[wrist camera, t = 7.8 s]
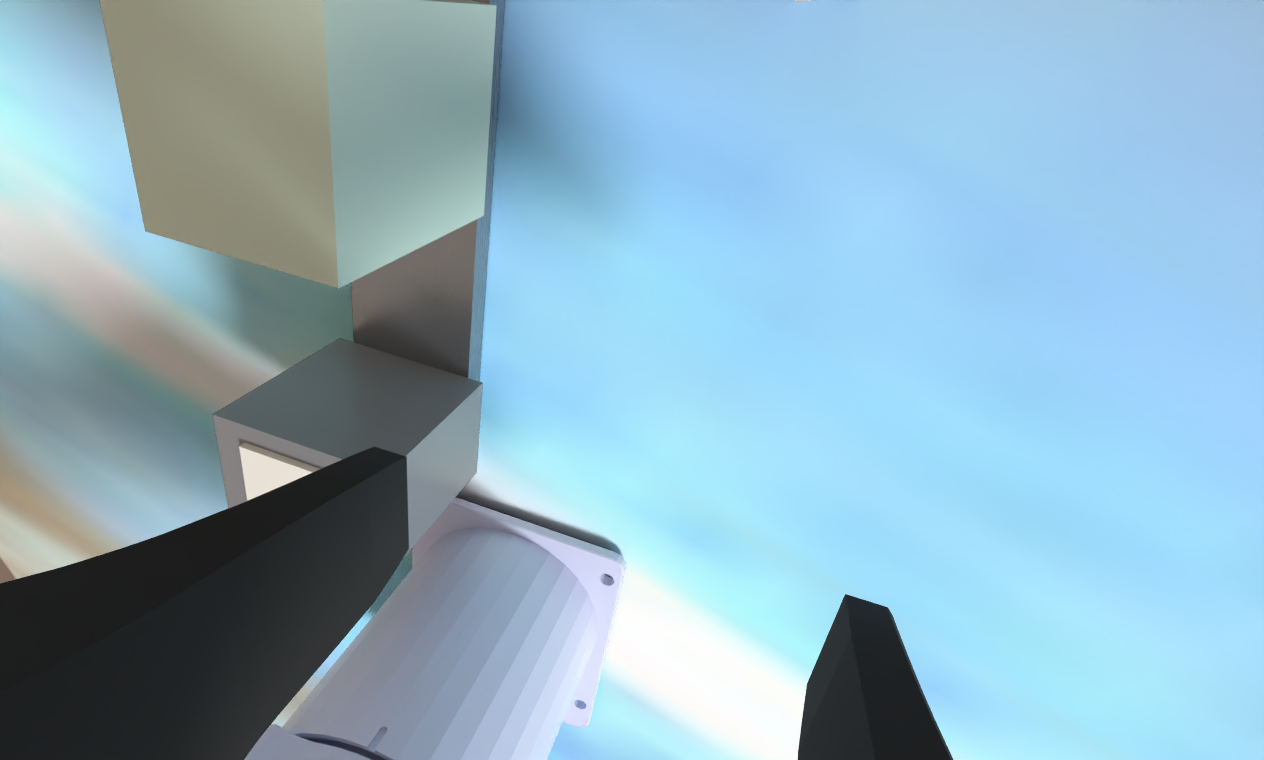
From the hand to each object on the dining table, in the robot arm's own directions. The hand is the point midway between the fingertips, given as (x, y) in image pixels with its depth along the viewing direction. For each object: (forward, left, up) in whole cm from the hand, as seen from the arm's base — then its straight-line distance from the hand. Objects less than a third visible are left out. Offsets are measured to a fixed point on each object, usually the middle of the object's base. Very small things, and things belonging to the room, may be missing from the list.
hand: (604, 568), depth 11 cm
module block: (+5, +9, -9) cm, 13 cm away
